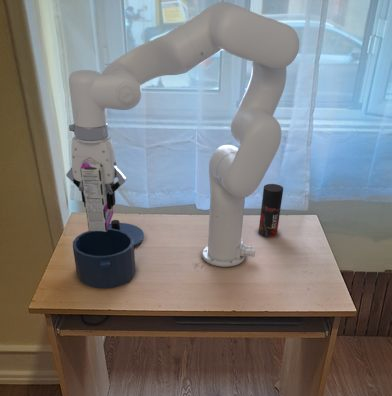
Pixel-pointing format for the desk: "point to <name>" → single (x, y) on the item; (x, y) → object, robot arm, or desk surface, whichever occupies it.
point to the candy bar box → (95, 197)
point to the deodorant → (270, 210)
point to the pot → (104, 258)
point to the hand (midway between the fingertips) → (99, 205)
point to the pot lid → (128, 230)
